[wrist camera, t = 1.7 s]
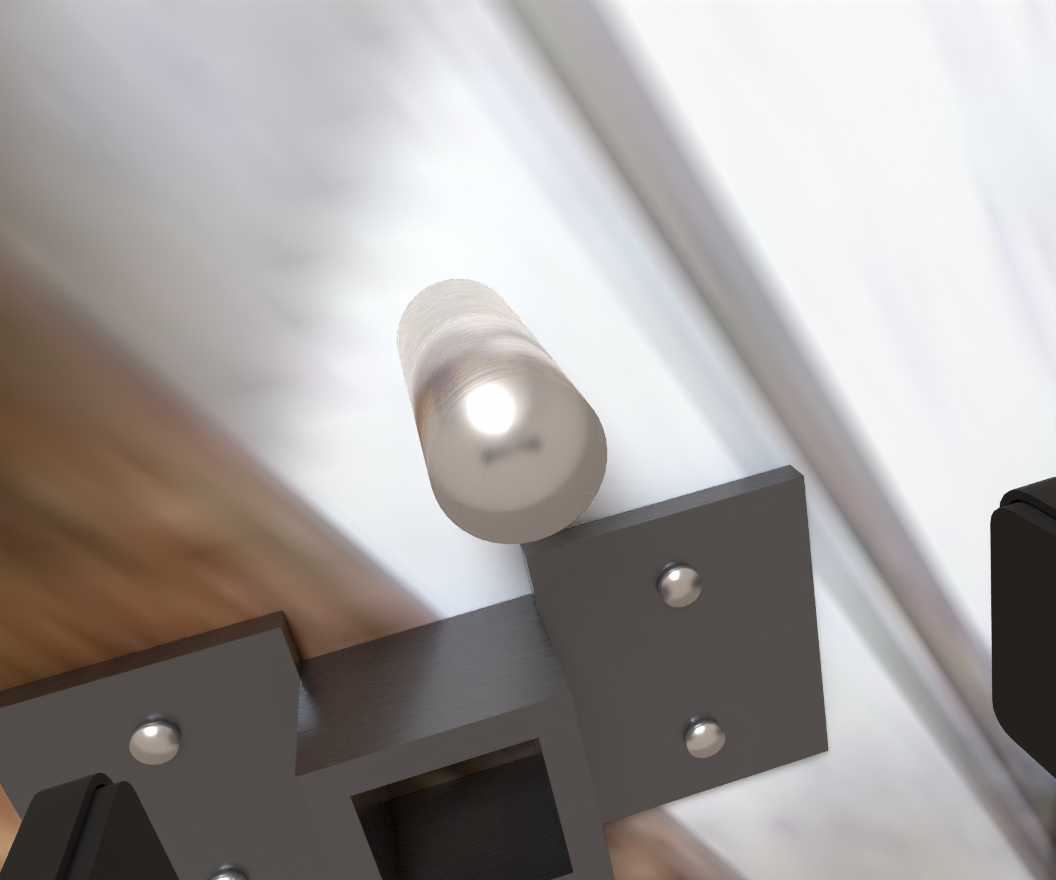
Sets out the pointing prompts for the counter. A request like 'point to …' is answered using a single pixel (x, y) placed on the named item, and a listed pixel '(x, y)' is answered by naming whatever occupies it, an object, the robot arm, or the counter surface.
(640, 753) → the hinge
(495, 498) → the pin
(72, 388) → the counter surface
